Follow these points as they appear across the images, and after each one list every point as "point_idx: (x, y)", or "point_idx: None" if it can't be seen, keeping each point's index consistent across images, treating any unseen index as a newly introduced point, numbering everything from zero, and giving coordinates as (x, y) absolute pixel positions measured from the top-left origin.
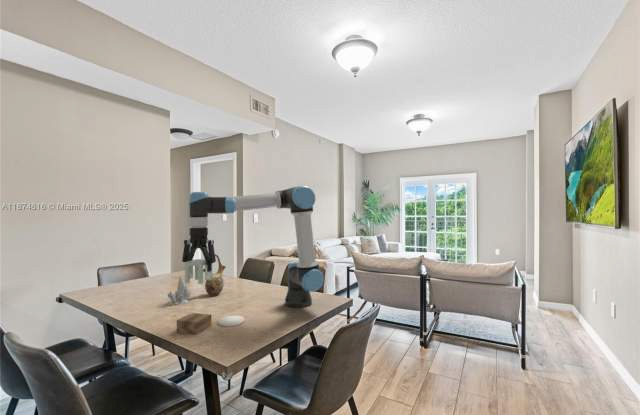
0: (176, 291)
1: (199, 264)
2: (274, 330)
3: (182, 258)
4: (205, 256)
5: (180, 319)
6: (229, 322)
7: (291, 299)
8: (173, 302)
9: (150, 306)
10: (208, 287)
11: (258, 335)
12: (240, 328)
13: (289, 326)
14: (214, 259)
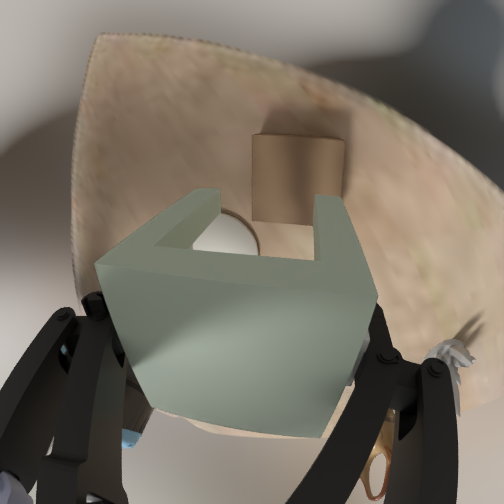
0: (458, 382)
1: (125, 255)
2: (95, 214)
3: (452, 391)
4: (78, 373)
5: (336, 150)
6: (210, 232)
7: None
8: (454, 345)
9: (496, 319)
10: (385, 417)
11: (106, 177)
12: (165, 207)
13: (85, 243)
14: (65, 354)
